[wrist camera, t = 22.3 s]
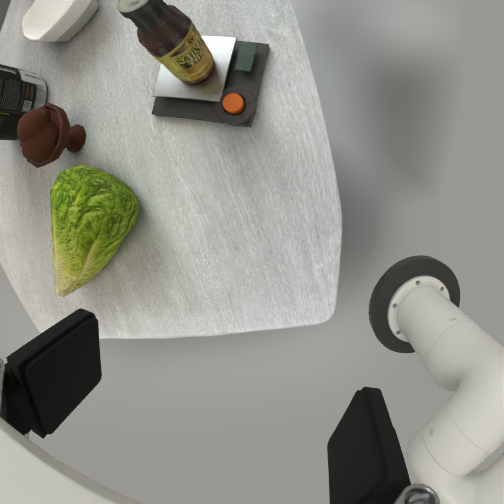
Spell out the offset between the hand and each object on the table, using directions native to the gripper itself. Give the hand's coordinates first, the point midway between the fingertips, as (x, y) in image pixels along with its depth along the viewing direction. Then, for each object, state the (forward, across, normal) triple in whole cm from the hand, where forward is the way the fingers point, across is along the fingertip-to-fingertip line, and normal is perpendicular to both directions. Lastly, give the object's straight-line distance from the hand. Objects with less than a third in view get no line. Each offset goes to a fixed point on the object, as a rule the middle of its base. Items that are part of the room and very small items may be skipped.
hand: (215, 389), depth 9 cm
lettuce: (+36, +31, +8) cm, 49 cm away
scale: (+36, +15, -21) cm, 45 cm away
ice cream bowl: (+36, +40, -9) cm, 55 cm away
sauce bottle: (+33, +16, -22) cm, 43 cm away
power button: (+34, +9, -17) cm, 39 cm away
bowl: (+36, +52, -38) cm, 74 cm away
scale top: (+33, +15, -22) cm, 43 cm away
